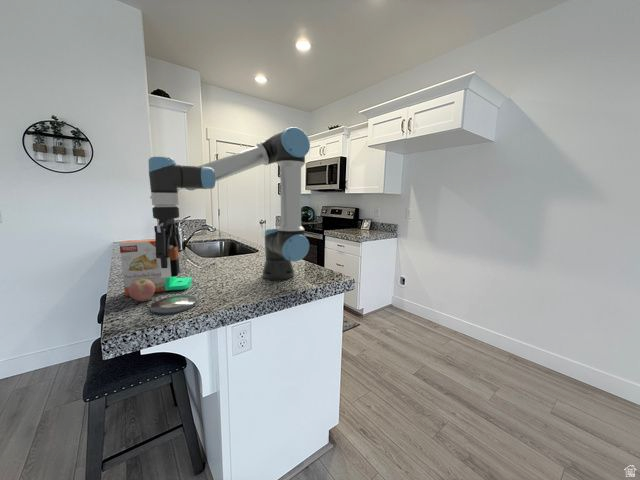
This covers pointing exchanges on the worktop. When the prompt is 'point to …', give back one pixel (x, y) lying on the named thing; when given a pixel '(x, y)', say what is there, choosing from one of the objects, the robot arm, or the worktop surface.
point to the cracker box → (140, 263)
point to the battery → (174, 260)
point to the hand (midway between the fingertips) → (171, 273)
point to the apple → (142, 289)
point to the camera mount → (177, 283)
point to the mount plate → (173, 304)
